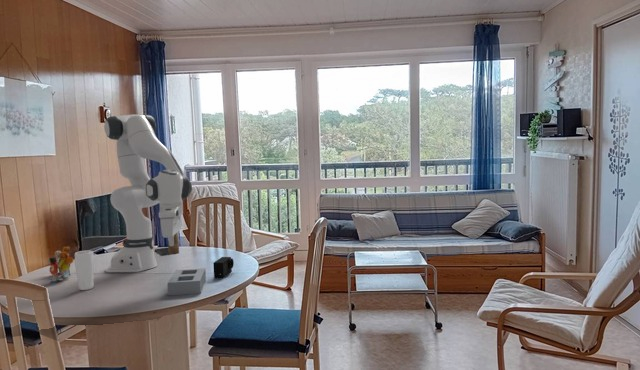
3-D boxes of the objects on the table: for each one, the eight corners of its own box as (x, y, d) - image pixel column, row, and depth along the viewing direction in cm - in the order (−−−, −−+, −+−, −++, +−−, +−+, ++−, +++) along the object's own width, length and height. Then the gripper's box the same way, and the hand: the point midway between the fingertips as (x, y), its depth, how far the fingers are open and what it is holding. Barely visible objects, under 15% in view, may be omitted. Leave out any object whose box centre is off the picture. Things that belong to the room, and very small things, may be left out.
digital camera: (226, 278, 190) (225, 262, 190) (213, 278, 191) (213, 262, 191) (234, 272, 201) (233, 256, 200) (222, 271, 201) (222, 256, 201)
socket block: (168, 295, 170) (167, 282, 169) (176, 281, 188) (176, 269, 187) (200, 293, 171) (199, 280, 171) (205, 279, 189) (205, 268, 189)
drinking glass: (83, 292, 176) (80, 254, 175) (73, 289, 180) (70, 253, 178) (99, 287, 182) (96, 251, 181) (89, 285, 185) (87, 249, 184)
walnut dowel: (167, 254, 178) (166, 234, 177) (169, 252, 181) (168, 233, 181) (178, 254, 178) (176, 234, 177) (179, 251, 182) (178, 232, 181)
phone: (168, 247, 251) (176, 252, 239) (168, 249, 251) (176, 254, 239) (154, 249, 246) (161, 254, 234) (154, 251, 247) (161, 256, 234)
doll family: (57, 272, 206) (55, 244, 205) (80, 270, 209) (78, 242, 208) (48, 285, 186) (46, 254, 185) (74, 282, 190) (72, 252, 189)
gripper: (168, 207, 188) (170, 239, 189) (157, 214, 168) (159, 250, 169) (184, 206, 189) (186, 238, 190) (174, 213, 169) (176, 249, 170)
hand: (173, 244), depth 179 cm, fingers closed on walnut dowel, 4 cm apart
